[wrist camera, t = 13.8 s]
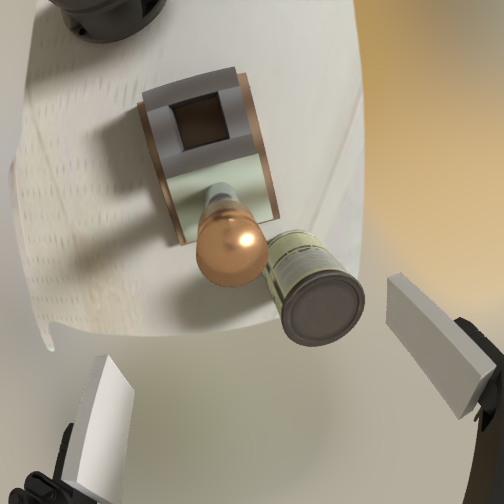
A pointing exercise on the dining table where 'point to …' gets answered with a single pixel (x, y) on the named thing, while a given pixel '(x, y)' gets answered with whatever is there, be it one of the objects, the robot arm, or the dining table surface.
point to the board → (207, 146)
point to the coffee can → (311, 290)
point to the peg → (229, 239)
